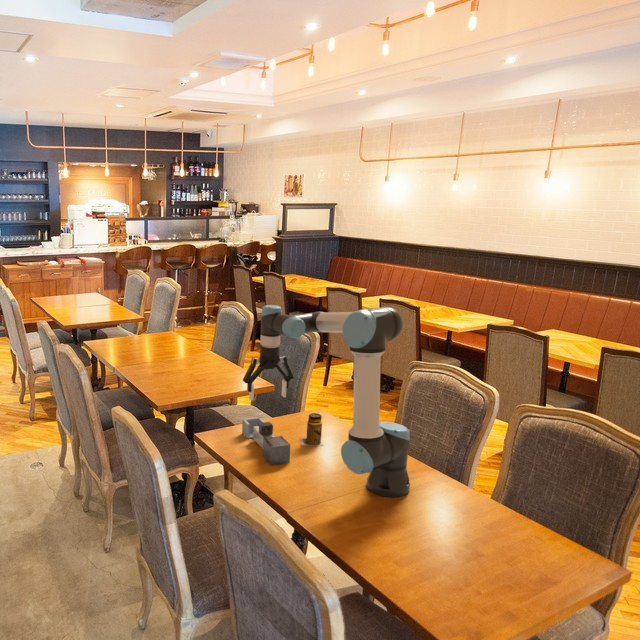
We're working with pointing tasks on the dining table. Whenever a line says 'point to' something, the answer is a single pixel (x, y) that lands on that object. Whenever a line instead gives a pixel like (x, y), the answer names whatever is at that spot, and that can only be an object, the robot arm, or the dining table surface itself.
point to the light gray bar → (262, 432)
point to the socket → (250, 426)
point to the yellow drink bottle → (313, 431)
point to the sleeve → (276, 450)
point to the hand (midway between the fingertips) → (267, 398)
